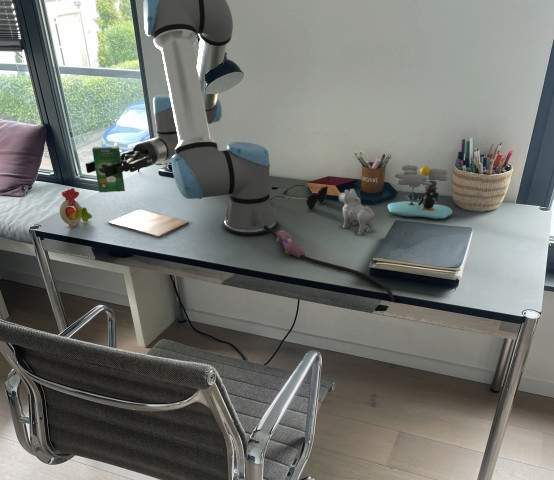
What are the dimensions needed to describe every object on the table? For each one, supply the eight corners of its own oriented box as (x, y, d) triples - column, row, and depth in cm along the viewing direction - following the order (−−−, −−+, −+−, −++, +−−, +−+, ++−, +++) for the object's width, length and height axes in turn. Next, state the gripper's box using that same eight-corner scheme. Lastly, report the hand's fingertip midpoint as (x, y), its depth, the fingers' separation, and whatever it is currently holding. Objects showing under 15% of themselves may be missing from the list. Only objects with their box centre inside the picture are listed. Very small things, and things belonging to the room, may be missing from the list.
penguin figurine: (452, 212, 177) (461, 162, 168) (450, 224, 169) (459, 173, 160) (389, 205, 182) (395, 157, 174) (383, 216, 174) (389, 166, 165)
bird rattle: (81, 235, 168) (97, 214, 172) (62, 206, 159) (80, 185, 163) (65, 231, 170) (82, 211, 174) (46, 203, 161) (64, 182, 165)
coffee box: (126, 188, 178) (119, 145, 170) (125, 191, 175) (118, 147, 168) (99, 190, 176) (91, 146, 169) (99, 193, 174) (90, 149, 166)
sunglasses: (307, 213, 177) (307, 197, 174) (264, 206, 184) (263, 191, 181) (328, 200, 186) (328, 185, 183) (286, 194, 194) (285, 180, 191)
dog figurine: (345, 219, 172) (347, 184, 166) (375, 232, 164) (379, 195, 158) (332, 223, 170) (334, 188, 164) (362, 236, 162) (366, 199, 155)
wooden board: (188, 223, 170) (188, 221, 170) (159, 237, 161) (158, 236, 161) (139, 210, 179) (139, 209, 178) (109, 223, 170) (109, 222, 170)
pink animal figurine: (281, 250, 157) (270, 230, 153) (295, 242, 157) (284, 221, 153) (292, 265, 150) (281, 244, 145) (307, 256, 149) (296, 235, 145)
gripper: (174, 169, 181) (122, 188, 166) (128, 160, 190) (75, 177, 175) (171, 145, 177) (118, 162, 161) (125, 136, 186) (70, 152, 170)
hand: (96, 170), depth 168 cm, fingers closed on coffee box, 7 cm apart
